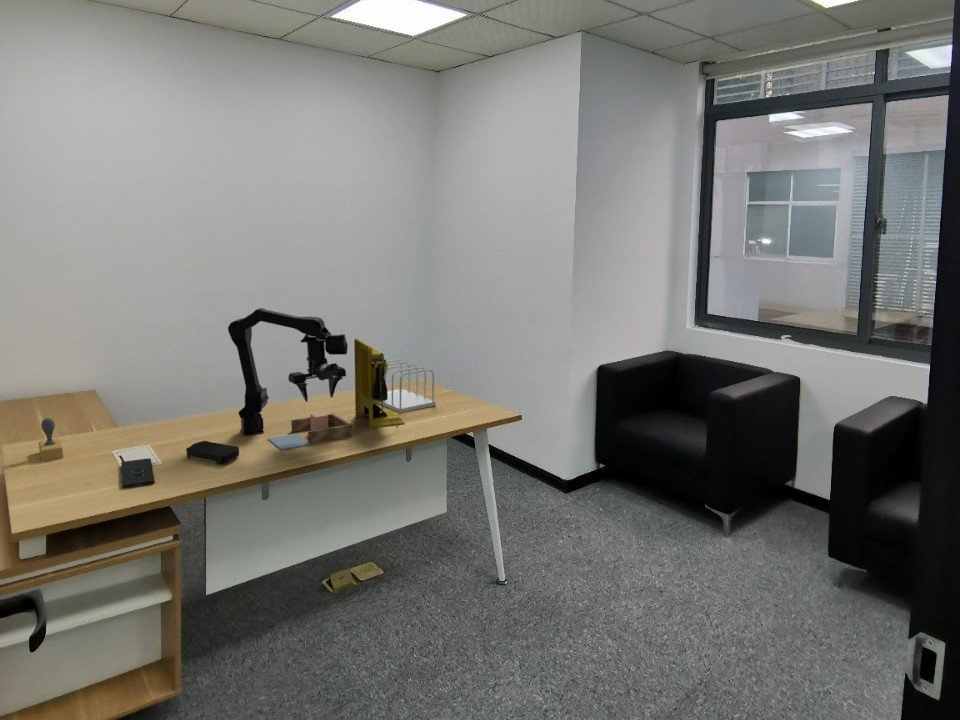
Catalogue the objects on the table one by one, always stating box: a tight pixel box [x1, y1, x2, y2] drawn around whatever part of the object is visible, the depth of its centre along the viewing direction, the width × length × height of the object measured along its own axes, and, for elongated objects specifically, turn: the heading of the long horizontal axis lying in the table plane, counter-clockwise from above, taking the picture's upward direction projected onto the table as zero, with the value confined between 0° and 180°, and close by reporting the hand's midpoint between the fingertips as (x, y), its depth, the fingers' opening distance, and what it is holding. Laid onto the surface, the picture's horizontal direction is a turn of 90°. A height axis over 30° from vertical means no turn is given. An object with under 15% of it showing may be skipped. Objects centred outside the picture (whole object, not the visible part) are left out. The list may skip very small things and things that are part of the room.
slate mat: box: [267, 432, 312, 451], centre depth 231 cm, size 10×13×1 cm
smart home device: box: [120, 458, 155, 489], centre depth 200 cm, size 8×2×20 cm
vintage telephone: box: [353, 338, 406, 430], centre depth 253 cm, size 31×14×30 cm, turn 25°
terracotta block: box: [309, 411, 329, 431], centre depth 240 cm, size 4×4×7 cm
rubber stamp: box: [38, 417, 64, 462], centre depth 213 cm, size 10×6×12 cm, turn 35°
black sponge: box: [185, 440, 240, 465], centre depth 215 cm, size 16×8×4 cm, turn 68°
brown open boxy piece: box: [290, 413, 353, 444], centre depth 240 cm, size 16×16×4 cm
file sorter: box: [377, 359, 437, 414], centre depth 281 cm, size 25×17×16 cm
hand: (319, 399), depth 238 cm, fingers open, 9 cm apart
